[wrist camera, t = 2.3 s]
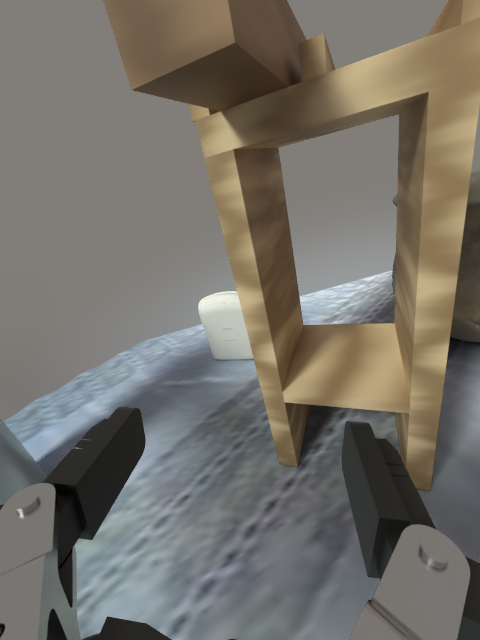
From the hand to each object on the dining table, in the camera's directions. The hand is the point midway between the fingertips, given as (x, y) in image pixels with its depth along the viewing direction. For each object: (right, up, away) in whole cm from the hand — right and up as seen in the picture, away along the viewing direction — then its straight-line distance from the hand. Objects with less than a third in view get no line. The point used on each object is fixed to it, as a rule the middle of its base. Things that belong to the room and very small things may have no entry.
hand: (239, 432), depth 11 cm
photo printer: (0, -2, +41) cm, 41 cm away
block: (+2, +18, +8) cm, 20 cm away
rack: (+13, -8, +22) cm, 27 cm away
